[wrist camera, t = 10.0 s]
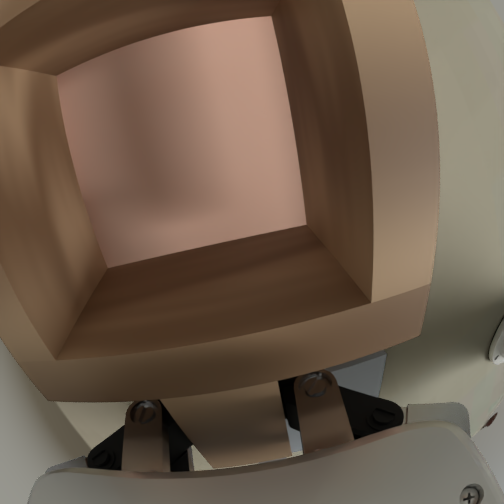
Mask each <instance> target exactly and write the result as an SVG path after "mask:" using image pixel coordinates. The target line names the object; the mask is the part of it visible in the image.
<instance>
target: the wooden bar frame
mask: <svg viewBox="0 0 504 504" xmlns="http://www.w3.org/2000/svg"><path fill="white" fill-rule="evenodd" d="M267 16H271V18H272V22H273V26H274V30H275V35H276V39H277V44H278V49H279V53H280V58H281V63H282V68H283V73H284V78H285V83H286V89H287V94H288V100H289V105H290V111H291V117H292V123H293V129H294V135H295V141H296V148H297V155H298V161H299V168H300V176H301V183H302V191H303V199H304V207H305V215H306V224H307V225H302V226H297V227H293V228H288V229H283V230H278V231H273V232H268V233H264V234H259V235H254V236H250V237H245V238H240V239H236V240H231V241H226V242H222V243H217V244H212V245H208V246H203V247H199V248H194V249H190V250H185V251H181V252H176V253H172V254H167V255H163V256H158V257H154V258H150V259H145V260H141V261H137V262H132V263H128V264H124V265H119V266H115V267H111V268H108V267H107V265H106V262H105V260H104V257H103V255H102V252H101V249H100V247H99V244H98V241H97V239H96V236H95V233H94V230H93V228H92V225H91V222H90V219H89V216H88V213H87V210H86V207H85V204H84V200H83V197H82V194H81V191H80V187H79V184H78V180H77V177H76V173H75V169H74V165H73V161H72V158H71V153H70V149H69V145H68V141H67V136H66V131H65V126H64V121H63V116H62V111H61V105H60V99H59V92H58V85H57V77H56V76H57V75H59V74H61V73H63V72H65V71H67V70H69V69H71V68H73V67H76V66H78V65H80V64H82V63H84V62H86V61H89V60H91V59H93V58H96V57H98V56H101V55H103V54H106V53H108V52H111V51H113V50H116V49H119V48H121V47H124V46H127V45H130V44H133V43H136V42H139V41H142V40H145V39H148V38H152V37H155V36H159V35H162V34H166V33H170V32H174V31H178V30H182V29H186V28H191V27H196V26H201V25H206V24H211V23H217V22H223V21H230V20H237V19H246V18H255V17H267ZM439 196H440V154H439V134H438V121H437V110H436V102H435V94H434V87H433V80H432V74H431V68H430V63H429V58H428V53H427V48H426V44H425V40H424V36H423V32H422V28H421V24H420V20H419V17H418V14H417V10H416V7H415V4H414V1H413V0H0V338H1V340H2V341H3V342H4V344H5V346H6V347H7V349H8V350H9V352H10V353H11V354H12V356H13V357H14V359H15V360H16V361H17V363H18V364H19V365H20V367H21V368H22V369H23V371H24V372H25V373H26V375H27V376H28V377H29V379H30V380H31V381H32V382H33V384H34V385H35V386H36V387H37V388H38V390H39V391H40V392H41V393H42V394H43V396H44V397H45V398H46V399H47V400H48V401H59V402H127V401H144V400H157V399H160V400H161V402H162V403H163V404H164V406H165V407H166V409H167V410H168V412H169V413H170V414H171V416H172V417H173V419H174V420H175V421H176V423H177V424H178V425H179V427H180V428H181V429H182V431H183V432H184V433H185V434H186V436H187V437H188V438H189V440H190V441H191V442H192V443H193V445H194V446H195V447H196V448H197V450H198V451H199V452H200V453H201V454H202V456H203V457H204V458H205V459H206V460H207V462H208V463H209V464H210V465H211V466H212V467H213V468H223V467H232V466H239V465H246V464H253V463H259V462H265V461H270V460H275V459H280V458H285V457H289V456H292V452H291V447H290V441H289V436H288V431H287V426H286V421H285V416H284V411H283V406H282V401H281V396H280V391H279V386H278V381H279V380H283V379H287V378H291V377H295V376H299V375H303V374H307V373H311V372H315V371H318V370H322V369H325V368H329V367H332V366H336V365H339V364H342V363H345V362H349V361H352V360H355V359H358V358H361V357H364V356H367V355H370V354H373V353H376V352H378V351H381V350H384V349H387V348H389V347H392V346H395V345H397V344H400V343H402V342H405V341H408V340H410V339H412V338H415V337H417V336H420V333H421V329H422V325H423V321H424V316H425V312H426V307H427V302H428V296H429V291H430V285H431V279H432V273H433V266H434V258H435V250H436V241H437V230H438V217H439Z"/></svg>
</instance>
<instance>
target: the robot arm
mask: <svg viewBox="0 0 504 504" xmlns="http://www.w3.org/2000/svg"><path fill="white" fill-rule="evenodd" d="M489 359H490V360H491V361H492V362H493V363H494V364H501V363H503V362H504V319H503V320H502V322H501V324H500V326H499V328H498V330H497V332H496V334H495V336H494V338H493V341H492V343H491V346H490V350H489ZM278 386H279V391H280V396H281V401H282V406H283V411H284V416H285V419H287V421H288V425H289V426H290V428H292V429H295V430H297V431H299V432H300V438H301V444H302V450H303V455H300V456H296V457H291V458H287V459H282V460H277V461H272V462H266V463H261V464H255V465H248V466H241V467H234V468H225V469H216V470H204V471H194V465H193V456H192V449H191V446H192V445H193V443H192V442H191V441H190V440H189V438H188V437H187V436H186V434H185V433H184V432H183V431H182V429H181V428H180V427H179V425H178V424H177V423H176V421H175V420H174V419H173V417H172V416H171V414H170V413H169V412H168V410H167V409H166V407H165V406H164V404H163V403H162V402H161V400H160V399H157V400H144V401H134V402H133V403H132V404H131V405H130V406H129V408H128V409H127V412H126V418H125V425H124V426H122V427H121V428H120V429H118V430H117V431H116V432H114V433H113V434H112V435H111V436H109V437H108V438H107V439H105V440H104V441H103V442H101V443H100V444H99V445H97V446H96V447H94V448H93V449H92V450H91V451H90V453H89V455H88V457H85V456H81V457H78V458H76V459H73V460H70V461H67V462H64V463H61V464H58V465H55V466H52V467H50V468H48V469H47V471H46V472H45V474H43V475H41V476H40V477H39V478H38V479H37V480H36V482H35V483H34V485H33V488H32V490H31V493H30V496H29V499H28V503H27V504H504V494H503V492H502V490H501V488H500V486H499V484H498V482H497V480H496V478H495V476H494V474H493V472H492V470H491V469H490V467H489V465H488V464H487V462H486V460H485V458H484V457H483V455H482V453H481V452H480V451H479V449H478V448H477V446H476V445H475V444H474V442H473V441H472V440H471V436H470V423H469V414H468V411H467V409H466V408H465V406H464V405H462V404H460V403H455V402H450V403H434V404H408V406H407V407H400V406H399V405H397V404H396V403H394V402H392V401H389V400H385V399H381V398H378V397H374V396H371V395H367V394H364V393H361V392H358V391H354V390H351V389H348V388H345V387H342V386H339V385H338V384H337V380H336V378H335V376H334V375H333V374H332V373H331V372H329V371H327V370H325V369H322V370H318V371H315V372H311V373H307V374H303V375H299V376H295V377H291V378H287V379H283V380H279V381H278Z"/></svg>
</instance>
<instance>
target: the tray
mask: <svg viewBox="0 0 504 504" xmlns="http://www.w3.org/2000/svg"><path fill="white" fill-rule="evenodd" d="M56 77H57V85H58V92H59V99H60V105H61V111H62V116H63V121H64V126H65V131H66V136H67V141H68V145H69V149H70V153H71V158H72V161H73V165H74V169H75V173H76V177H77V180H78V184H79V187H80V191H81V194H82V197H83V200H84V204H85V207H86V210H87V213H88V216H89V219H90V222H91V225H92V228H93V230H94V233H95V236H96V239H97V241H98V244H99V247H100V249H101V252H102V255H103V257H104V260H105V262H106V265H107V267H108V268H111V267H115V266H119V265H124V264H128V263H132V262H137V261H141V260H145V259H150V258H154V257H158V256H163V255H167V254H172V253H176V252H181V251H185V250H190V249H194V248H199V247H203V246H208V245H212V244H217V243H222V242H226V241H231V240H236V239H240V238H245V237H250V236H254V235H259V234H264V233H268V232H273V231H278V230H283V229H288V228H293V227H297V226H302V225H307V224H306V215H305V207H304V199H303V191H302V183H301V176H300V168H299V161H298V155H297V148H296V141H295V135H294V129H293V123H292V117H291V111H290V105H289V100H288V94H287V89H286V83H285V78H284V73H283V68H282V63H281V58H280V53H279V49H278V44H277V39H276V35H275V30H274V26H273V22H272V18H271V16H267V17H255V18H246V19H237V20H230V21H223V22H217V23H211V24H206V25H201V26H196V27H191V28H186V29H182V30H178V31H174V32H170V33H166V34H162V35H159V36H155V37H152V38H148V39H145V40H142V41H139V42H136V43H133V44H130V45H127V46H124V47H121V48H119V49H116V50H113V51H111V52H108V53H106V54H103V55H101V56H98V57H96V58H93V59H91V60H89V61H86V62H84V63H82V64H80V65H78V66H76V67H73V68H71V69H69V70H67V71H65V72H63V73H61V74H59V75H57V76H56Z"/></svg>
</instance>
